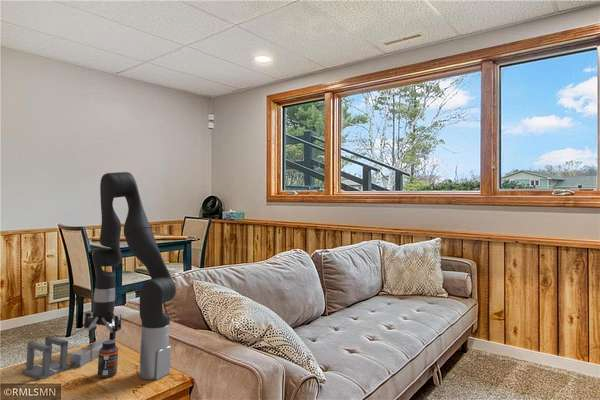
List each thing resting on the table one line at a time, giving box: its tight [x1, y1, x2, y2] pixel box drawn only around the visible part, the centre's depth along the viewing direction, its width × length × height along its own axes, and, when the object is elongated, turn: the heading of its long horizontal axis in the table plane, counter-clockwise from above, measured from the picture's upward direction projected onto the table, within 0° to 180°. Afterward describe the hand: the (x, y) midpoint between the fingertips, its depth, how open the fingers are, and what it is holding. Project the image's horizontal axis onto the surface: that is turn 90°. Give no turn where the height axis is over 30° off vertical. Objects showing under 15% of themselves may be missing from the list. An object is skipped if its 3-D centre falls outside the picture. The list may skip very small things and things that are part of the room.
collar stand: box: [21, 335, 71, 381], centre depth 131 cm, size 10×10×10 cm
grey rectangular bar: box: [69, 337, 109, 368], centre depth 143 cm, size 4×17×5 cm, turn 171°
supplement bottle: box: [97, 339, 119, 379], centre depth 130 cm, size 6×6×11 cm
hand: (101, 340), depth 150 cm, fingers open, 8 cm apart
